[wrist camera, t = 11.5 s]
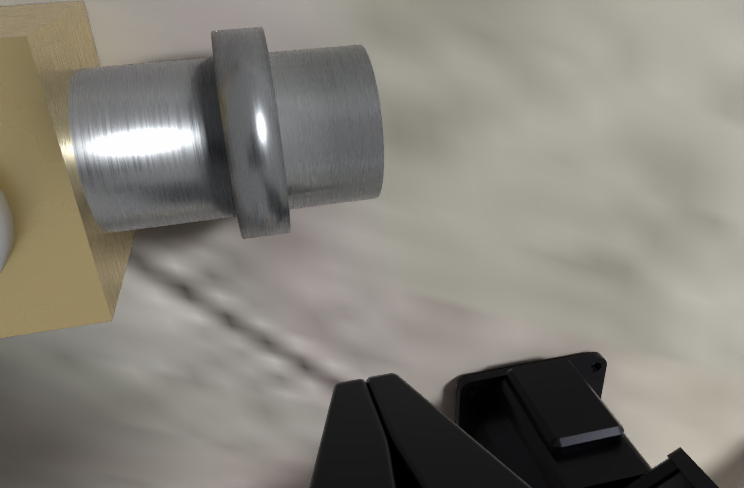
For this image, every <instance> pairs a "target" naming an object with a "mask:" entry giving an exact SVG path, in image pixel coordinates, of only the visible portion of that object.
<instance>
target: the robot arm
mask: <svg viewBox="0 0 744 488" xmlns="http://www.w3.org/2000/svg"><path fill="white" fill-rule="evenodd" d="M594 363H595V364H594ZM593 364H594V365H593ZM606 367H607V362H606V360H605V359H604V358H603V357H602V356H601V354H600V353H598V352H590V353H585V354H579V355H574V356H568V357H563V358H558V359H552V360H547V361H541V362H536V363H531V364H525V365H520V366H514V367H509V368H504V369H498V370H493V371H488V372H482V373H477V374H471V375H467V376H464V377H463V378H461V379H460V380H459V382H458V383H457V388H456V419H455V423H454V422H453V421H452V420H450V419H449V418H448V417H447V416H446V415H444V414H443V413H442V412H441V411H440V410H439V409H437V408H436V407H435V406H434V405H433V404H431V403H430V402H429V401H428V400H427V399H425V398H424V397H423V396H422V395H421V394H419V393H418V392H417V391H416V390H415V389H413V388H412V387H411V386H410V385H409V384H408V383H406V382H405V381H404V380H403V379H402V378H400V377H399V376H398V375H396V374H394V373H389V374H384V375H378V376H373V377H369V378H368V379H367V380H366V382H365V381H364V380H363V379H356V380H351V381H345V382H340V383H337V384H336V385H335V387H334V390H333V394H332V398H331V402H330V406H329V410H328V414H327V418H326V422H325V426H324V430H323V434H322V439H321V443H320V447H319V451H318V455H317V459H316V463H315V467H314V471H313V475H312V479H311V483H310V487H309V488H719V487H718V486H717V485H716V484H715V483H714V482H713V481H712V480H711V479H710V478H709V477H708V476H707V475H706V474H705V473H704V472H703V470H702V469H701V468H700V467H699V466H698V465H697V464H696V463H695V462H694V461H693V460H692V459H691V458H690V457H689V456H688V455H687V454H686V453H685V452H684V450H683V449H682V448H681V447H680V448H678V449H677V450H675V451H673V452H672V453H670V454H669V455H667V457H668V459H666V460H665V461H663V462H662V463H660V464H659V465H657V466H656V467H654V468H651V467H650V466H649V464H648V463H647V462H646V460H645V459H644V458H643V457H642V455H641V454H640V453H639V452H638V450H637V449H636V448H635V446H634V445H633V444H632V443H631V441H630V440H629V439H628V438H627V436H626V435H625V434H624V429H623V427H622V425H621V424H620V423H619V422H618V420H617V419H616V418H615V417H614V415H613V414H612V413H611V412H610V410H609V409H608V408H607V406H606V405H605V404H604V403H603V401H602V400H601V394H602V389H603V383H604V378H605V372H606ZM471 386H473V387H472V388H470V389H468V388H469V387H471Z"/></svg>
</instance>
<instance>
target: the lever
mask: <svg viewBox="0 0 744 488" xmlns="http://www.w3.org/2000/svg"><path fill="white" fill-rule="evenodd" d="M13 242H14V223H13V217H12V213H11V210H10V207H9V204H8V201H7V199H6V197H5V195H4V193H3V191H2V190H1V188H0V273H1V272H2V270H3V268H4V267H5V265H6V263H7V261H8V259H9V257H10V254H11V251H12V248H13Z"/></svg>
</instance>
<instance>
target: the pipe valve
mask: <svg viewBox="0 0 744 488" xmlns="http://www.w3.org/2000/svg"><path fill="white" fill-rule="evenodd" d="M211 36H212V49H213V57H209V58H198V59H186V60H174V61H163V62H151V63H139V64H128V65H116V66H104V67H100V64H99V60H98V56H97V52H96V48H95V44H94V40H93V36H92V32H91V29H90V25H89V21H88V17H87V13H86V9H85V5H84V1H73V2H59V3H44V4H29V5H15V6H0V188H1V190H2V191H3V193H4V195H5V197H6V199H7V201H8V204H9V207H10V210H11V213H12V217H13V223H14V242H13V248H12V251H11V254H10V257H9V259H8V261H7V263H6V265H5V267H4V268H3V270H2V272H1V273H0V338H4V337H10V336H17V335H23V334H30V333H36V332H43V331H49V330H56V329H62V328H69V327H76V326H82V325H89V324H95V323H102V322H108V321H112V319H113V316H114V312H115V308H116V304H117V300H118V297H119V293H120V289H121V285H122V281H123V278H124V274H125V270H126V266H127V262H128V259H129V255H130V251H131V247H132V244H133V240H134V236H135V232H136V229H144V228H151V227H159V226H167V225H175V224H182V223H190V222H198V221H205V220H213V219H221V218H228V217H236V216H237V217H238V222H239V227H240V231H241V235H242V238H243V239H247V238H254V237H262V236H269V235H276V234H284V233H290V214H289V210H290V209H298V208H305V207H313V206H321V205H328V204H336V203H344V202H351V201H359V200H367V199H375V198H377V197H378V196H379V194H380V192H381V188H382V183H383V171H384V144H383V129H382V118H381V110H380V103H379V96H378V91H377V85H376V81H375V76H374V72H373V68H372V65H371V62H370V59H369V56H368V54H367V52H366V50H365V48H364V47H363V46H362V45H350V46H338V47H326V48H315V49H303V50H291V51H280V52H268V49H267V44H266V39H265V34H264V31H263V28H262V27H256V28H243V29H230V30H218V31H212V32H211Z"/></svg>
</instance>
